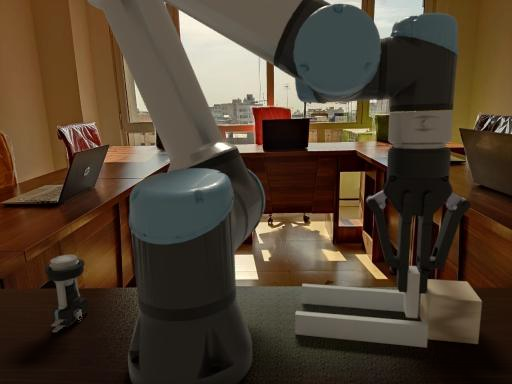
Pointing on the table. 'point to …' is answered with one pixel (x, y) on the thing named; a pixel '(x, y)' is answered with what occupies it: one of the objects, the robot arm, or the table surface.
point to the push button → (67, 289)
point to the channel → (356, 325)
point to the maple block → (451, 311)
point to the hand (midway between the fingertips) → (410, 312)
